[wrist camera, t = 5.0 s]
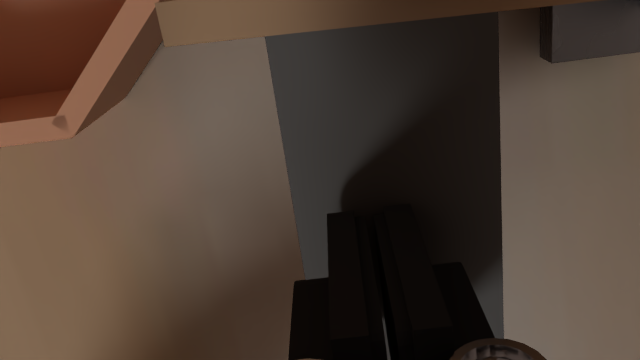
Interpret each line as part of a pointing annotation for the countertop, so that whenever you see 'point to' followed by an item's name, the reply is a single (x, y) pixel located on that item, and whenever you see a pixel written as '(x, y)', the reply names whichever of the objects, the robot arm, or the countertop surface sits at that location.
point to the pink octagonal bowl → (69, 63)
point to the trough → (382, 117)
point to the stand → (589, 30)
